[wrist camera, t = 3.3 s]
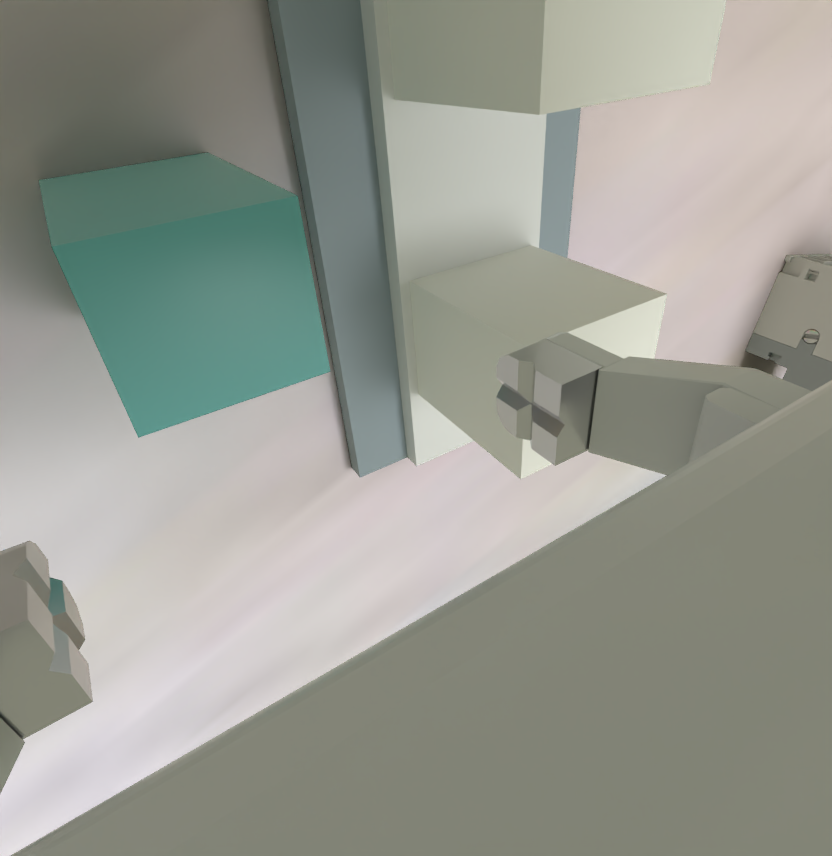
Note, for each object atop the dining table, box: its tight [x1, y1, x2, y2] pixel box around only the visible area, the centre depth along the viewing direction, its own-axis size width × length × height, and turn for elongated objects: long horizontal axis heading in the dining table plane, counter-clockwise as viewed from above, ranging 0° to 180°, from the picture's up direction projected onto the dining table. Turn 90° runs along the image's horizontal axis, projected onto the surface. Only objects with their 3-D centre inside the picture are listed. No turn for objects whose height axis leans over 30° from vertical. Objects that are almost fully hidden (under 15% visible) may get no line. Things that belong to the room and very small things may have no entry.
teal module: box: [39, 152, 330, 437], centre depth 17 cm, size 5×6×9 cm
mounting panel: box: [267, 0, 727, 479], centre depth 22 cm, size 28×14×10 cm, turn 5°
